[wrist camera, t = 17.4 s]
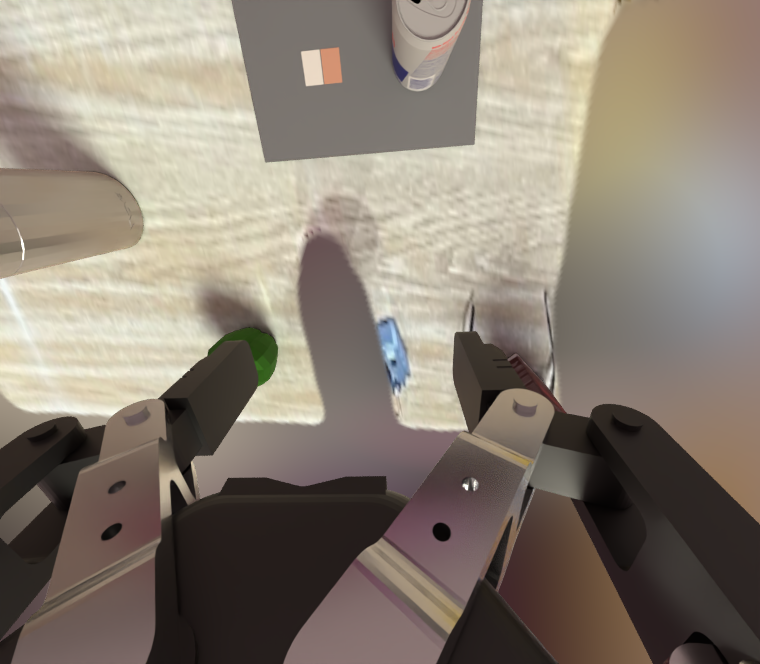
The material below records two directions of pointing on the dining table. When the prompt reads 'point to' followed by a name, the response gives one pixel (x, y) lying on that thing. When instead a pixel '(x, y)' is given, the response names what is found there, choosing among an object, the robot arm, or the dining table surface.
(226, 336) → the bell pepper
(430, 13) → the energy drink
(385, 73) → the mat
